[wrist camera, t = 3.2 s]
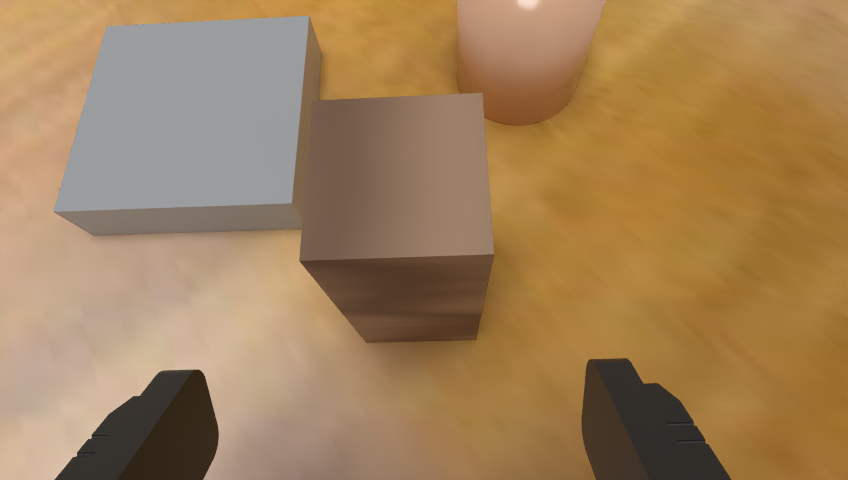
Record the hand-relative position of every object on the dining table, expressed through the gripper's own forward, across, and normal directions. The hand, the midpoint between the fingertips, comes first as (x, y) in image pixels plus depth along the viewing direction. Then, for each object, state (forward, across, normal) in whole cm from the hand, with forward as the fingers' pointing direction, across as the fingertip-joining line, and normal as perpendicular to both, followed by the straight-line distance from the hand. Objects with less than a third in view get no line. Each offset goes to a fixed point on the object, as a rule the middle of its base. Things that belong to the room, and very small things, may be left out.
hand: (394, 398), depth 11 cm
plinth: (+17, +10, -2) cm, 20 cm away
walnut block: (+11, 0, +3) cm, 11 cm away
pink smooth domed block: (+18, -5, -5) cm, 20 cm away
